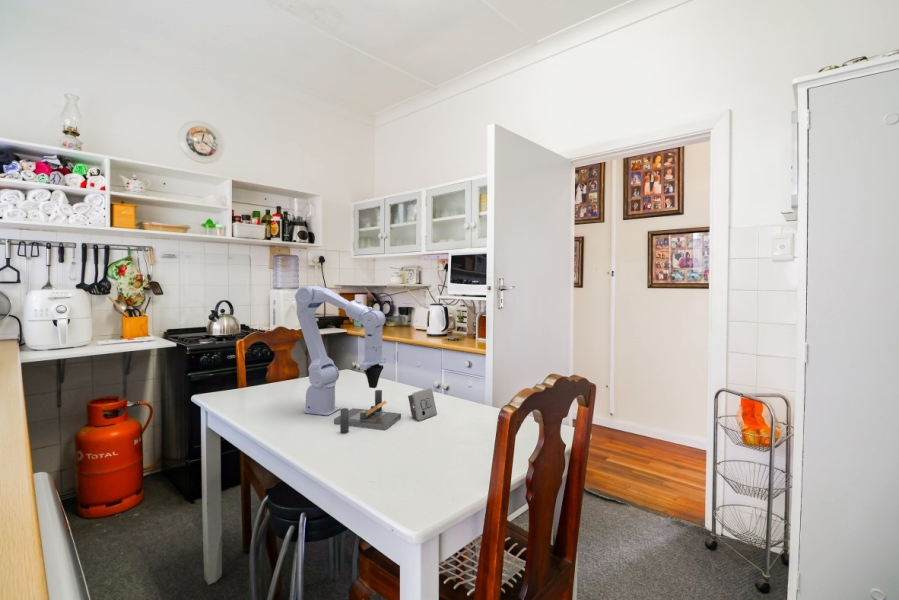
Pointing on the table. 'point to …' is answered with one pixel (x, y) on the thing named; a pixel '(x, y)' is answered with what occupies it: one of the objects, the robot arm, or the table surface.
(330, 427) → the table surface
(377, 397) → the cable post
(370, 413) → the breaker paddle
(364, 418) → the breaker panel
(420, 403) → the electrical switch
